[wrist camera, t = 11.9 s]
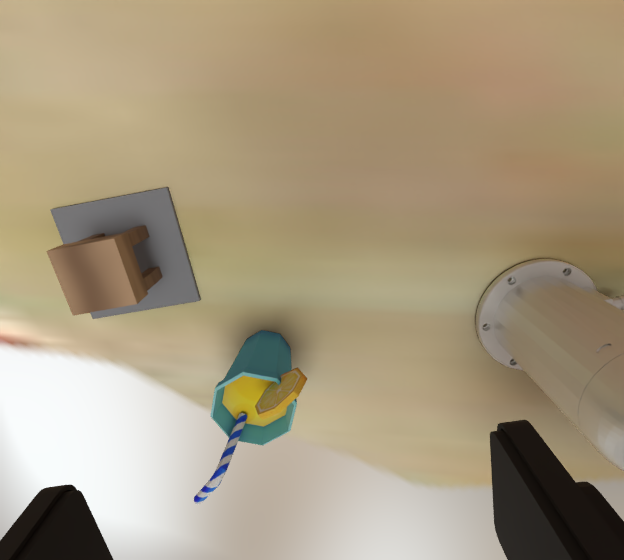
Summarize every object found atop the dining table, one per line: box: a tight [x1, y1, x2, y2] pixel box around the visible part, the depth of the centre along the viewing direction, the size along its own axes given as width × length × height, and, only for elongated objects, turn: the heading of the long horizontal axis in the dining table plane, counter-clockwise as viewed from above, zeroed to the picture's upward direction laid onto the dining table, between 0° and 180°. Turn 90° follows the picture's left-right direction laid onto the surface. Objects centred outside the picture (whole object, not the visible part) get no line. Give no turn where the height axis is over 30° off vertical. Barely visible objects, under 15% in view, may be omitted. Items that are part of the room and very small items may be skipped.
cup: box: [194, 330, 307, 504], centre depth 38 cm, size 14×8×15 cm, turn 145°
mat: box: [51, 187, 201, 319], centre depth 42 cm, size 12×12×1 cm
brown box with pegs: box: [47, 225, 162, 315], centre depth 38 cm, size 6×6×7 cm
